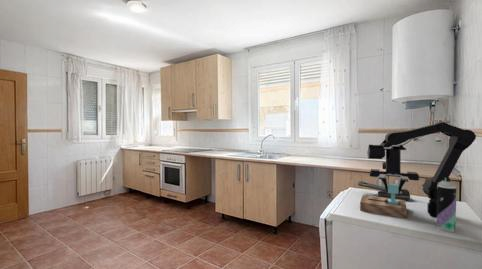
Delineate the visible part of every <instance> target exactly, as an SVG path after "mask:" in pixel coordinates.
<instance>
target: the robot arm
mask: <svg viewBox="0 0 482 269" xmlns="http://www.w3.org/2000/svg"><path fill="white" fill-rule="evenodd" d="M436 133H442V134H443V135H445V136H447V137H449V139H448V149H447V150H446V152H445V154H444V156H443V158H442V160H441V162H440V164H439V165H438V167H437V169H436V171H435V173H434V175H433V176H432V177H431V178H428V177H426V178H425V180H424V183H423V184H422V185H421V186H422V191H423V193H424V194H425V195H426V196H427V198H428V202H427V210H426V212H427V213H428V214H429V216H430V217H435V218H437V184H438V182H441V181H442V180H443V179H444V177H446V178H450V175H451V173H452V172H453V170H454V168H455V167H456V165H457V163H458V161H459V159H460V157H461V155H462V153H463V152H464V151H465V150H466V149H468V148H470V146H471V145H472V144H473V143H474V142H475V140H476V139H477V134H475V133H476V132H474V131H473V130H471V129H463V128H460V127H458V126H454V125H452V124H449V123H447V122H445V121H439V122H436V123H433V124H428V125H424V126H421V127H417V128H412V129H409V130H401V131H391V132H388V133H386V135H385V136H384V139H383V141H382V142H381V143H380V144H368V147H367V158H368V160H383V158H385V161H383V162H382V164H381V166H382V170H385V171H380V169H379V168H378V169H377V168H371V169H370V170H369V177H372V178H378V179H379V180H381V181H382V183H383V186H384V187H385V188H386V191H387V192H388V180H387V177H399V181H398V194H399V193H400V192H401V189H403V186H404V185H405V183H406V182H409V180H410V181H417V182H418V181H420V175H419V173H418V172H416V171H406V172H402V171H401V162H402V160H401V154H402V153H401V152H402V151H406V150H407V148H406V147H405V146H404V145H403V143H406V142H407V141H410V140H412V139H417V138H420V137H423V136H429V135H432V134H436Z"/></svg>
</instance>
